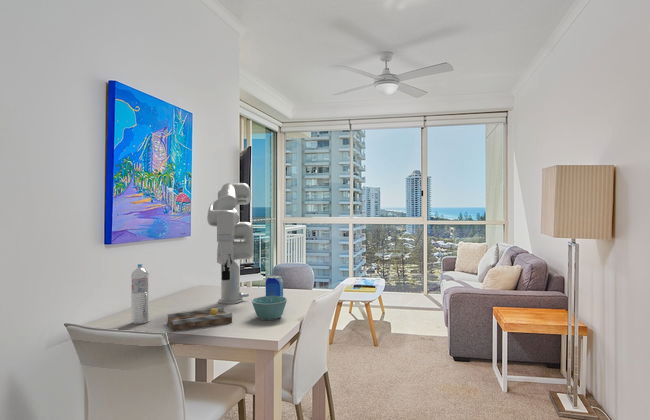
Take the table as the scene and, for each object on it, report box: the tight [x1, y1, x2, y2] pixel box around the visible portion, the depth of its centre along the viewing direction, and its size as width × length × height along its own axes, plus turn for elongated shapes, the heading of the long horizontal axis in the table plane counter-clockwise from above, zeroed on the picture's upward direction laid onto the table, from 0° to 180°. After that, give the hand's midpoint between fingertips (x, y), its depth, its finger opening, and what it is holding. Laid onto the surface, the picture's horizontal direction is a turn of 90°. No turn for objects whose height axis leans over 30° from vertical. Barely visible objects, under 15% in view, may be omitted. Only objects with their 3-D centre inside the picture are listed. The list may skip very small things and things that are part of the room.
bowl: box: [251, 295, 288, 321], centre depth 187 cm, size 16×16×8 cm
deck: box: [167, 306, 233, 332], centre depth 179 cm, size 24×13×4 cm, turn 120°
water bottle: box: [130, 263, 150, 325], centre depth 180 cm, size 7×7×25 cm
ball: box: [210, 307, 218, 315], centre depth 182 cm, size 3×3×3 cm
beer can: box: [265, 275, 284, 297], centre depth 203 cm, size 8×8×16 cm
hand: (225, 279), depth 184 cm, fingers closed
